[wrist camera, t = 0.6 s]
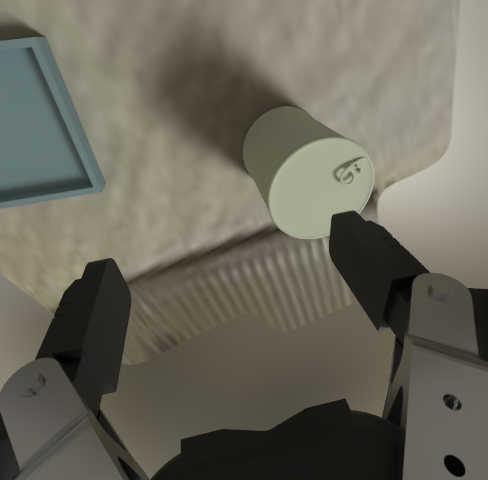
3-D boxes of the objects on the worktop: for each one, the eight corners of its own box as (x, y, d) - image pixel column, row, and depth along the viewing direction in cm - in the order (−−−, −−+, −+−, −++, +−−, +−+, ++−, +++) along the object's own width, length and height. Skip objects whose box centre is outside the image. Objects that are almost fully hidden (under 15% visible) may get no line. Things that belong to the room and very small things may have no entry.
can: (334, 150, 34) (395, 195, 25) (274, 201, 37) (308, 259, 27) (291, 85, 29) (346, 109, 20) (225, 148, 32) (245, 197, 22)
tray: (-130, 57, 23) (-153, 58, 21) (45, 36, 24) (35, 36, 22) (-23, 204, 31) (-34, 213, 29) (105, 183, 32) (101, 191, 30)
